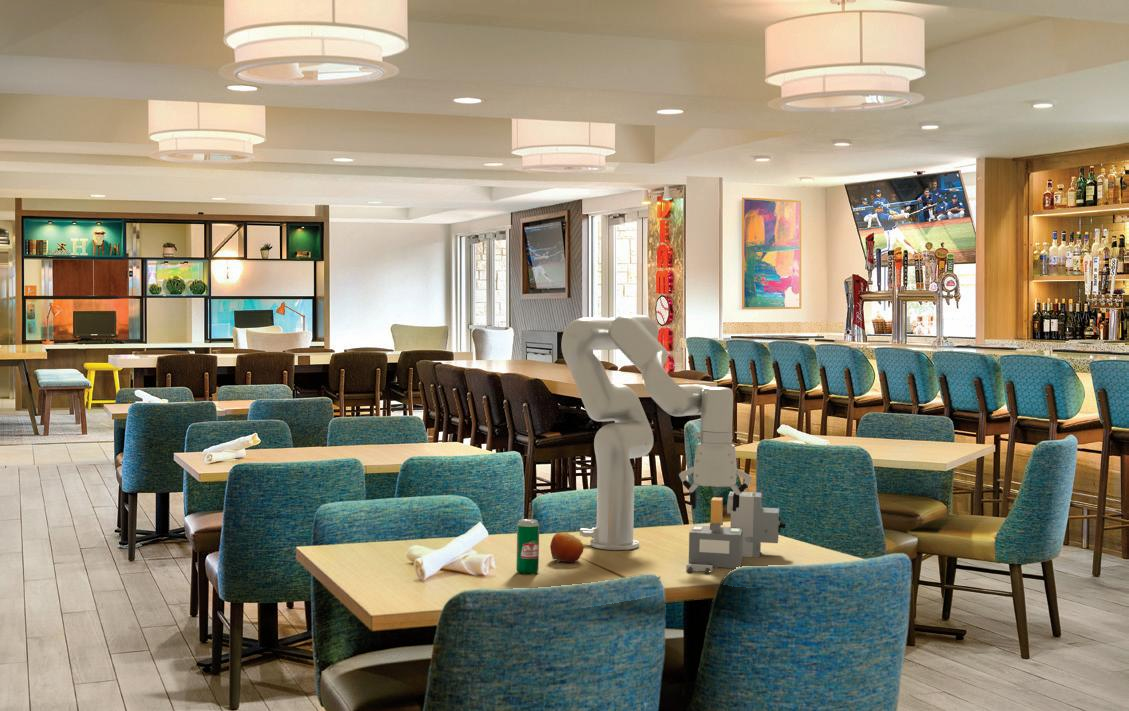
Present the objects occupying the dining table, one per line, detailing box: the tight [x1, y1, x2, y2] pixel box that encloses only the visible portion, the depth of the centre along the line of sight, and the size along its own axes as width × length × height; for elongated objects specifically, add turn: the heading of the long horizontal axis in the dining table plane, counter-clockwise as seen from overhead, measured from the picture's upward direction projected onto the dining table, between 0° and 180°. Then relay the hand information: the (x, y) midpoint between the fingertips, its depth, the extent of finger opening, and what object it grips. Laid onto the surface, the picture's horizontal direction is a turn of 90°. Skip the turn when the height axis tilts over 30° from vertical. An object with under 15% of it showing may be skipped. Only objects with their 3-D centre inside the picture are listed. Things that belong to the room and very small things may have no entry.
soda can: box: [515, 518, 540, 576], centre depth 268 cm, size 5×5×12 cm
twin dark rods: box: [685, 562, 714, 574], centre depth 274 cm, size 6×8×1 cm
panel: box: [688, 517, 743, 569], centre depth 282 cm, size 12×10×10 cm
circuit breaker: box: [726, 491, 787, 558], centre depth 293 cm, size 8×14×15 cm, turn 78°
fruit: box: [550, 531, 585, 565], centre depth 281 cm, size 8×8×8 cm
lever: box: [710, 497, 724, 527], centre depth 281 cm, size 2×6×7 cm, turn 168°
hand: (714, 509), depth 282 cm, fingers open, 9 cm apart
